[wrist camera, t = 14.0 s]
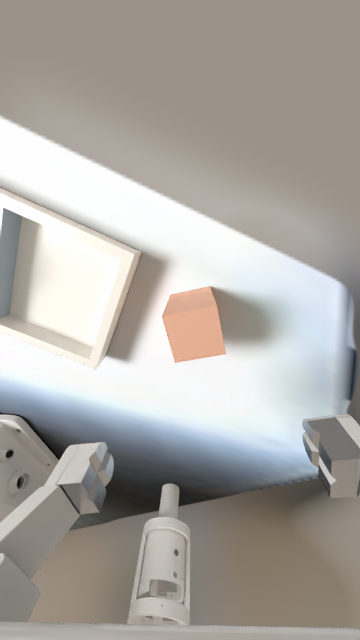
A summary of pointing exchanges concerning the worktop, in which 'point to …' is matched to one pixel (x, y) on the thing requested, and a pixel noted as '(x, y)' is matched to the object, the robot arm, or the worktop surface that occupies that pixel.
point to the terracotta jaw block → (193, 325)
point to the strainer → (163, 566)
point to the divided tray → (60, 281)
